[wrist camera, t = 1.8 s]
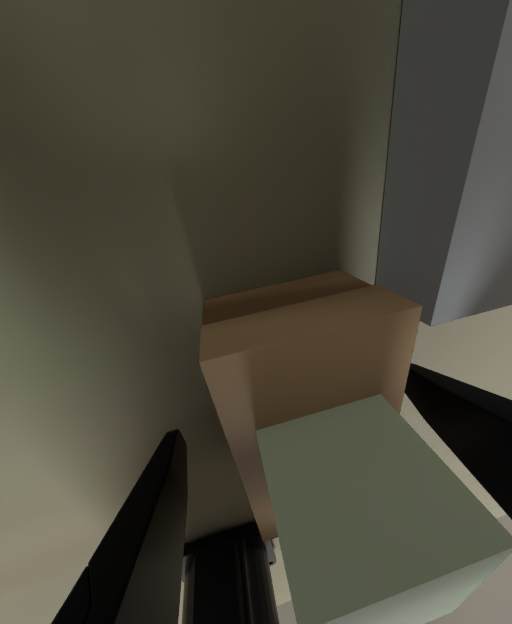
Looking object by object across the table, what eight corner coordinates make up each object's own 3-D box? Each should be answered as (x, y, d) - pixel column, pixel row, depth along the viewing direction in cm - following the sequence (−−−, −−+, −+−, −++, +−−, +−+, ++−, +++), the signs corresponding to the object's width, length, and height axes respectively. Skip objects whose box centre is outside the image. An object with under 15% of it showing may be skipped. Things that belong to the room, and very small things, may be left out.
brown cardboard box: (336, 425, 12) (381, 500, 9) (248, 452, 12) (263, 542, 8) (339, 267, 8) (423, 305, 5) (202, 297, 7) (199, 362, 4)
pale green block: (368, 473, 8) (452, 611, 5) (274, 505, 7) (311, 671, 5) (380, 393, 6) (520, 545, 3) (255, 430, 6) (299, 633, 3)
